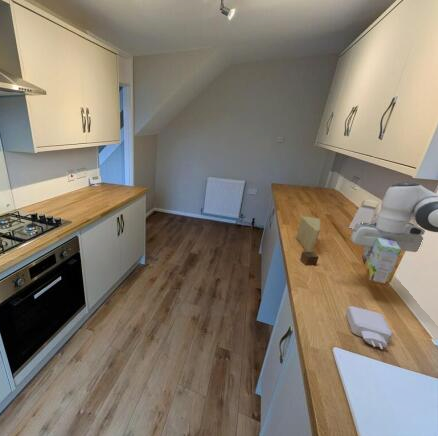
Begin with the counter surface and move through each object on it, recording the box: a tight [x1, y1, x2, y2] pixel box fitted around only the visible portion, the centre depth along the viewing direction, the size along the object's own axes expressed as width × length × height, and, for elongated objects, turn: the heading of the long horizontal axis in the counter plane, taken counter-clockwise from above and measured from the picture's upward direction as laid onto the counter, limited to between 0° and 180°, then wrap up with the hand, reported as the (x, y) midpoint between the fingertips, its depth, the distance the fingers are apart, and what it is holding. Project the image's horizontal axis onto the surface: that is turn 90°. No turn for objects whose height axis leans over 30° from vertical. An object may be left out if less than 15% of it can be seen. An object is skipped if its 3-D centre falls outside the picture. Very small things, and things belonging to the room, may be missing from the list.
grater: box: [348, 199, 380, 230], centre depth 157 cm, size 10×10×20 cm
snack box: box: [361, 238, 402, 285], centre depth 94 cm, size 21×6×15 cm, turn 147°
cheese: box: [295, 216, 322, 253], centre depth 132 cm, size 22×10×15 cm, turn 154°
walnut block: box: [299, 251, 319, 267], centre depth 118 cm, size 5×5×5 cm
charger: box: [345, 305, 394, 350], centre depth 76 cm, size 5×9×15 cm
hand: (378, 256), depth 95 cm, fingers closed on snack box, 6 cm apart
